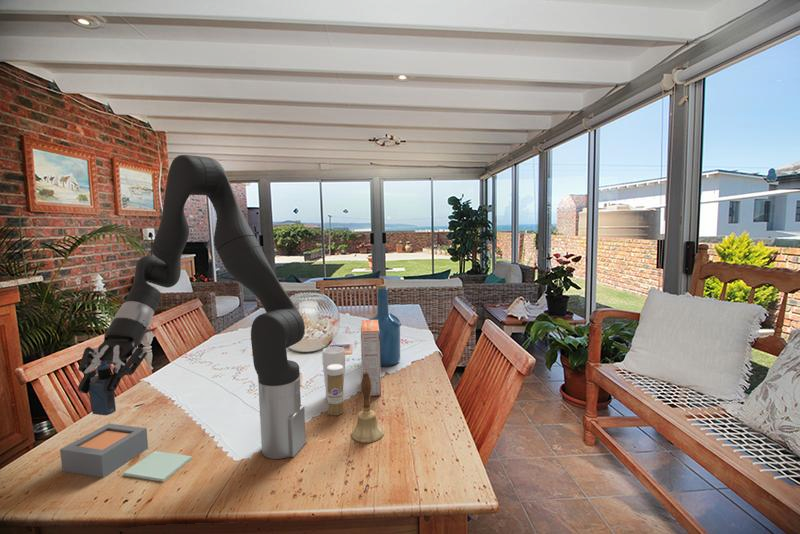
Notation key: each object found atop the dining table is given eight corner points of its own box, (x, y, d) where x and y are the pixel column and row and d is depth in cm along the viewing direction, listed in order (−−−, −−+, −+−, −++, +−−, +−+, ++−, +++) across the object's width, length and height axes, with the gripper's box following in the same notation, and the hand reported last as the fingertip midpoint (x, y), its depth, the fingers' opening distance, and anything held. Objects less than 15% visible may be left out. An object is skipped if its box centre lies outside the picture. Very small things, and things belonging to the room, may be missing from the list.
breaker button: (133, 445, 89) (132, 433, 89) (104, 464, 82) (103, 451, 82) (108, 442, 91) (107, 430, 90) (78, 460, 84) (77, 447, 84)
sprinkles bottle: (329, 417, 105) (328, 370, 103) (326, 410, 109) (325, 364, 107) (346, 414, 106) (345, 367, 105) (342, 407, 111) (340, 362, 109)
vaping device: (108, 416, 84) (102, 364, 82) (88, 414, 85) (82, 362, 83) (119, 410, 86) (113, 359, 85) (100, 408, 87) (94, 358, 86)
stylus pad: (192, 458, 87) (192, 456, 86) (163, 481, 79) (163, 479, 79) (155, 453, 89) (155, 451, 89) (123, 475, 81) (123, 472, 81)
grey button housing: (148, 448, 91) (146, 428, 90) (103, 477, 80) (101, 455, 80) (110, 442, 93) (108, 423, 93) (62, 471, 82) (59, 449, 82)
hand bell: (344, 434, 96) (342, 373, 94) (368, 422, 102) (367, 364, 100) (366, 447, 91) (364, 382, 89) (390, 433, 97) (389, 372, 95)
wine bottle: (362, 366, 142) (360, 287, 139) (370, 354, 155) (369, 282, 152) (398, 368, 140) (397, 288, 137) (403, 356, 153) (403, 282, 150)
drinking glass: (335, 404, 113) (334, 354, 111) (318, 398, 116) (317, 351, 115) (350, 395, 118) (349, 348, 117) (333, 390, 122) (332, 344, 120)
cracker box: (362, 379, 131) (361, 319, 129) (379, 378, 131) (378, 319, 129) (361, 397, 117) (360, 330, 115) (381, 396, 117) (380, 330, 115)
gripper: (92, 316, 91) (50, 385, 80) (150, 316, 90) (115, 386, 80) (112, 331, 97) (75, 398, 86) (166, 331, 96) (136, 398, 86)
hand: (95, 392), depth 83 cm, fingers closed on vaping device, 5 cm apart
